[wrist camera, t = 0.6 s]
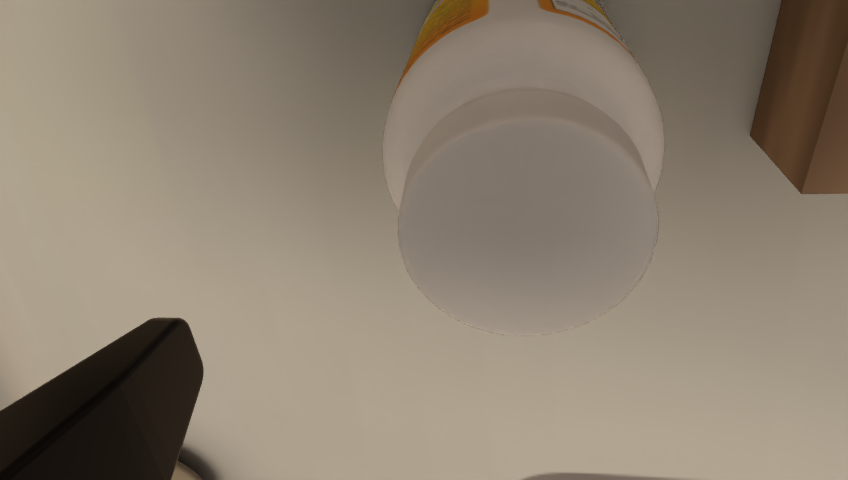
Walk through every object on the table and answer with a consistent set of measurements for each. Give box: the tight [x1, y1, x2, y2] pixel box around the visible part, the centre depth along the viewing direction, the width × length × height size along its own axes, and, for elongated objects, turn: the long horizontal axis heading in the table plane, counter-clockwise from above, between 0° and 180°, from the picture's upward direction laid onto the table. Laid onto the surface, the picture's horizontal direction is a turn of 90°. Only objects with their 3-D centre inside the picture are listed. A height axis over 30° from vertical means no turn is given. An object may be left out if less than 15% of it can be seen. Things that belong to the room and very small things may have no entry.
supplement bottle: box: [382, 0, 665, 336], centre depth 13 cm, size 5×5×10 cm
